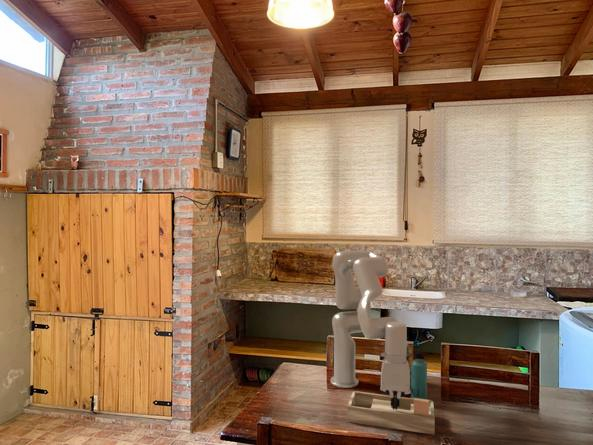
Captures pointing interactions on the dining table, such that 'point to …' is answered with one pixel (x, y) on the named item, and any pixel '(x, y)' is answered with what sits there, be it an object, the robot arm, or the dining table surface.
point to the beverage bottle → (419, 376)
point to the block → (421, 406)
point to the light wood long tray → (389, 413)
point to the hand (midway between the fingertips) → (395, 407)
